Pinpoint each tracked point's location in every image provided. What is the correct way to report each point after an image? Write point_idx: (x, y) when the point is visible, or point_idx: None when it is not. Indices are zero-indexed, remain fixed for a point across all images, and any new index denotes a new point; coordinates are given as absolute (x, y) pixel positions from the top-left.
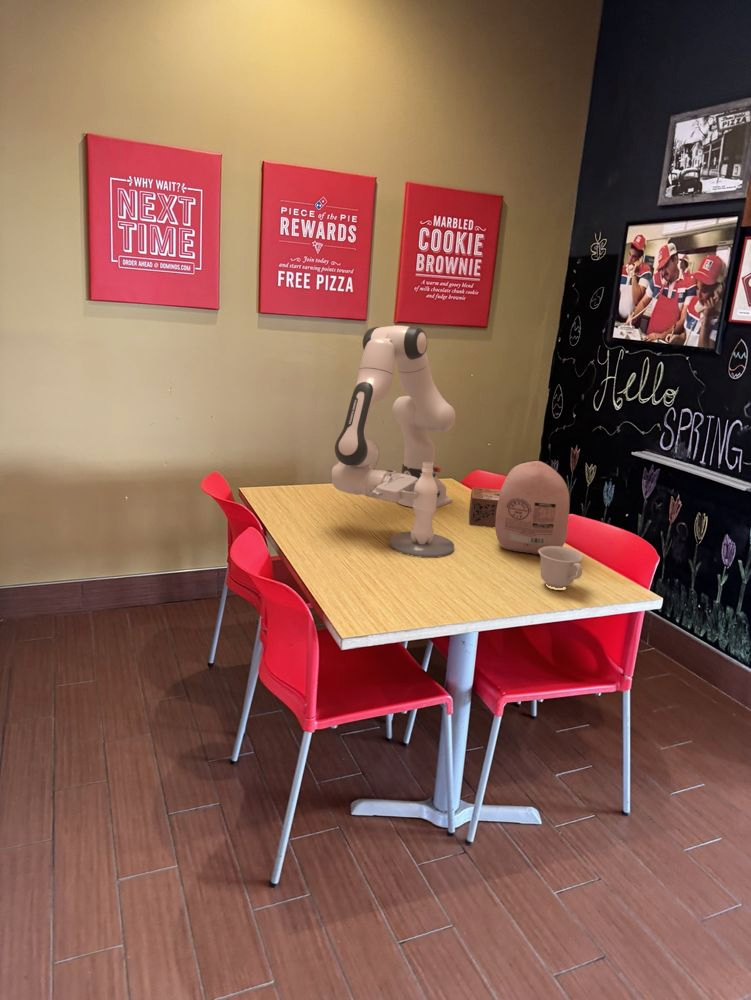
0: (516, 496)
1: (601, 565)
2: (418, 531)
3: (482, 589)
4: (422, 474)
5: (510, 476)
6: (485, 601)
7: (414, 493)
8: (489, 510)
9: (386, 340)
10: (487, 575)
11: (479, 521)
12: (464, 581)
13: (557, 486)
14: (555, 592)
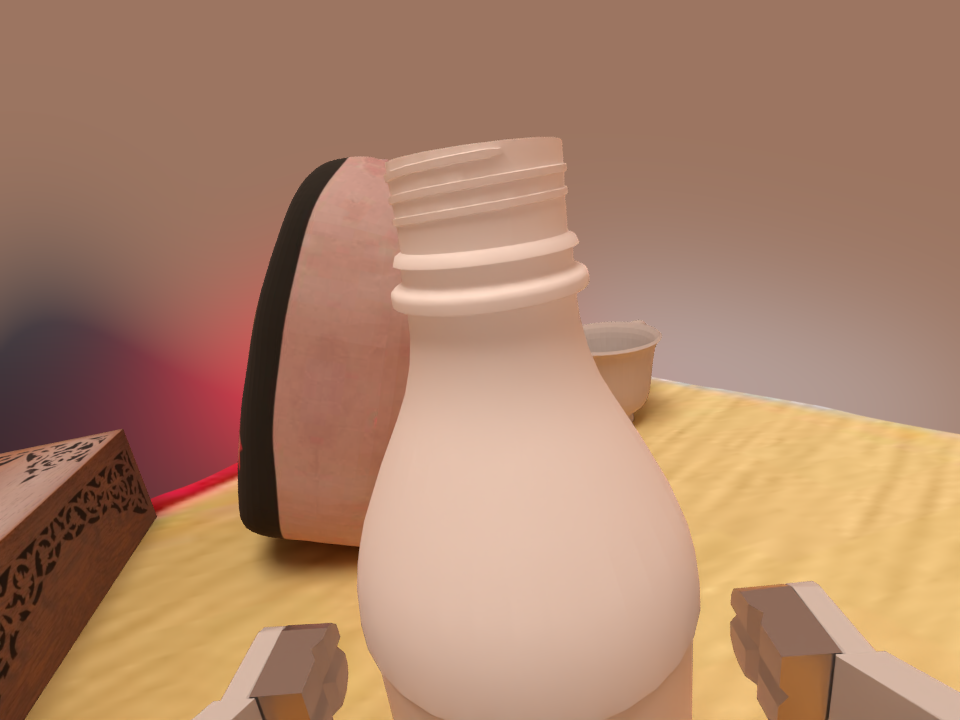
0: None
1: None
2: None
3: (818, 493)
4: (572, 351)
5: (389, 226)
6: (888, 467)
7: (829, 601)
8: (4, 615)
9: None
10: (687, 516)
11: (1, 714)
12: (829, 545)
13: None
14: (639, 413)
